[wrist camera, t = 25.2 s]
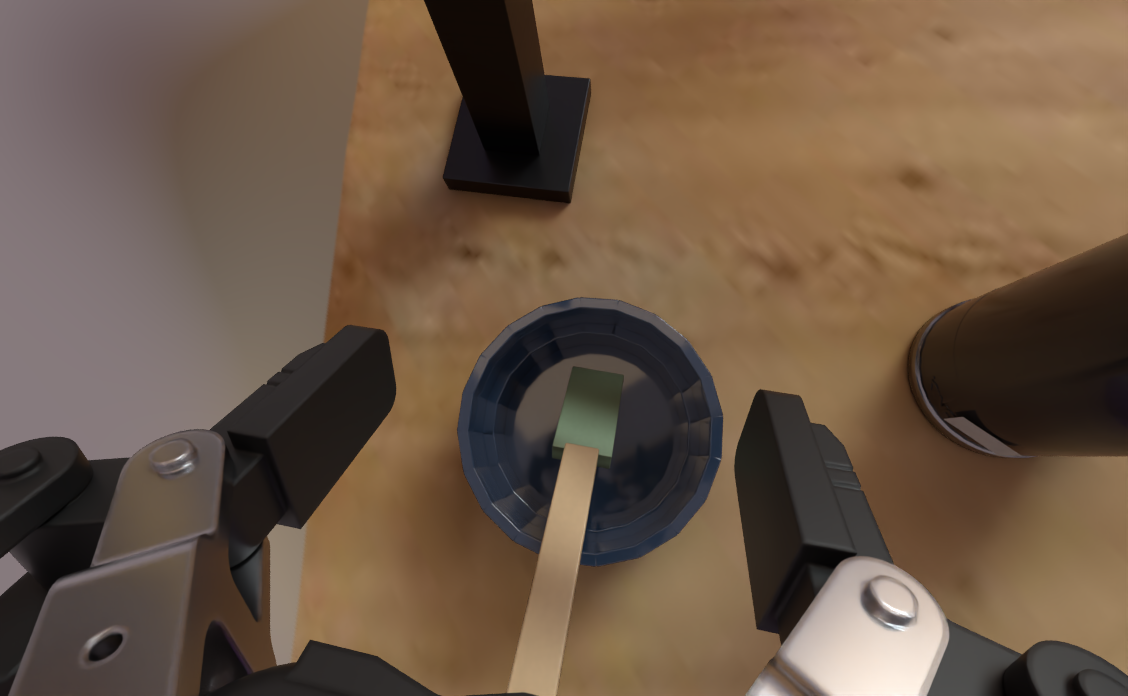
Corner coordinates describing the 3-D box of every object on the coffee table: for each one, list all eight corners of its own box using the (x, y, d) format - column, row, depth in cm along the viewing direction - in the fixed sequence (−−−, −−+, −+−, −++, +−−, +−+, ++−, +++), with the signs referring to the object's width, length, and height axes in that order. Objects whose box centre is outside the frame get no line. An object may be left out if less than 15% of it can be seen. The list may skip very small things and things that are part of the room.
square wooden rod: (541, 916, 15) (541, 924, 14) (442, 886, 15) (433, 890, 14) (621, 387, 30) (625, 367, 29) (571, 378, 31) (573, 358, 29)
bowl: (626, 293, 32) (630, 253, 26) (741, 470, 29) (778, 474, 23) (453, 393, 32) (415, 378, 25) (552, 584, 29) (537, 620, 22)
